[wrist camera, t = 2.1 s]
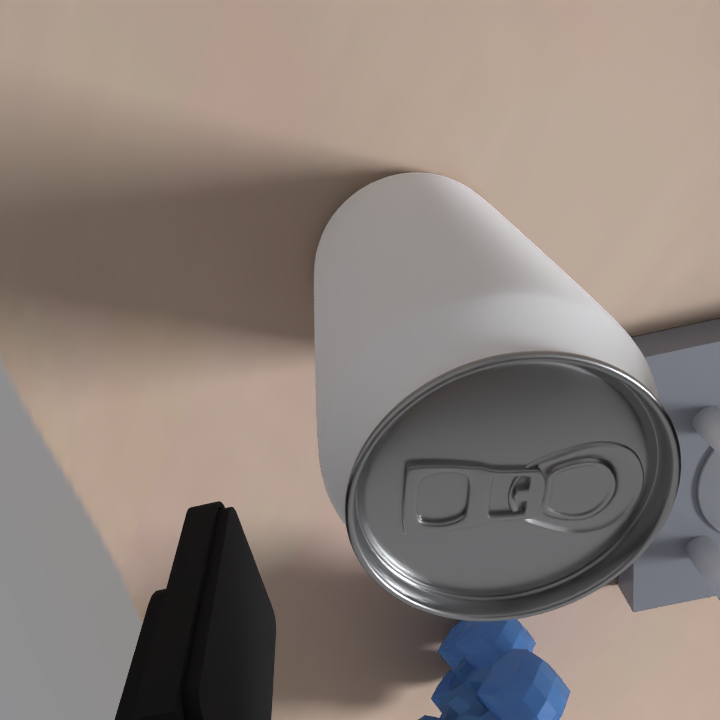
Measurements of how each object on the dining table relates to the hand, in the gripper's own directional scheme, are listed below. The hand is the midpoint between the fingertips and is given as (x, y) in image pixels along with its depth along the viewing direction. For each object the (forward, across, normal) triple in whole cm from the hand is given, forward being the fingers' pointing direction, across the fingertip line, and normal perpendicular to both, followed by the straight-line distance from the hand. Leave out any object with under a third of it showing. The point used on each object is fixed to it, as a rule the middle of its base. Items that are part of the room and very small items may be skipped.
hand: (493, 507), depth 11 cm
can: (+11, 0, -1) cm, 11 cm away
